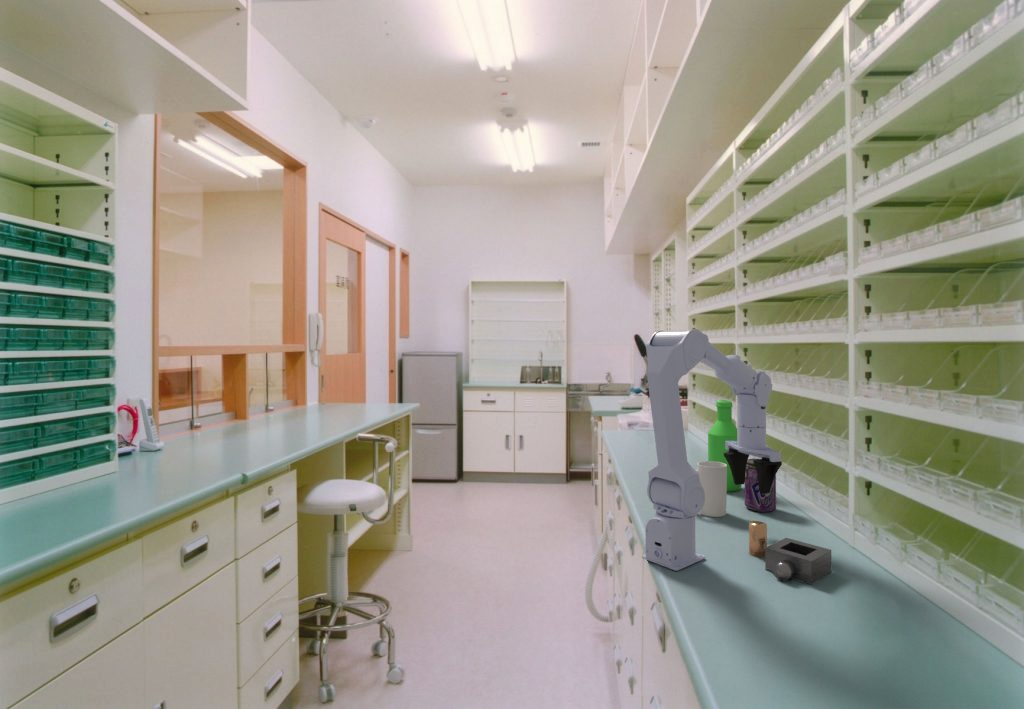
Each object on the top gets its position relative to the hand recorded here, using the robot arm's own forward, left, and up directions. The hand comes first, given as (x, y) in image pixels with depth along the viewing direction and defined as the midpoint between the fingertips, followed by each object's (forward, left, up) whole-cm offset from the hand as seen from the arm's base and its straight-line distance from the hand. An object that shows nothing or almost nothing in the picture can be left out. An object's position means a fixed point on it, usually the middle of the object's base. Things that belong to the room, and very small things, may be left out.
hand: (751, 488), depth 116 cm
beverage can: (+18, +7, -10) cm, 22 cm away
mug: (+5, +14, -10) cm, 18 cm away
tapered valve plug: (-10, -7, -10) cm, 16 cm away
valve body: (-12, -15, -10) cm, 22 cm away
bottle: (+29, +23, -10) cm, 38 cm away
